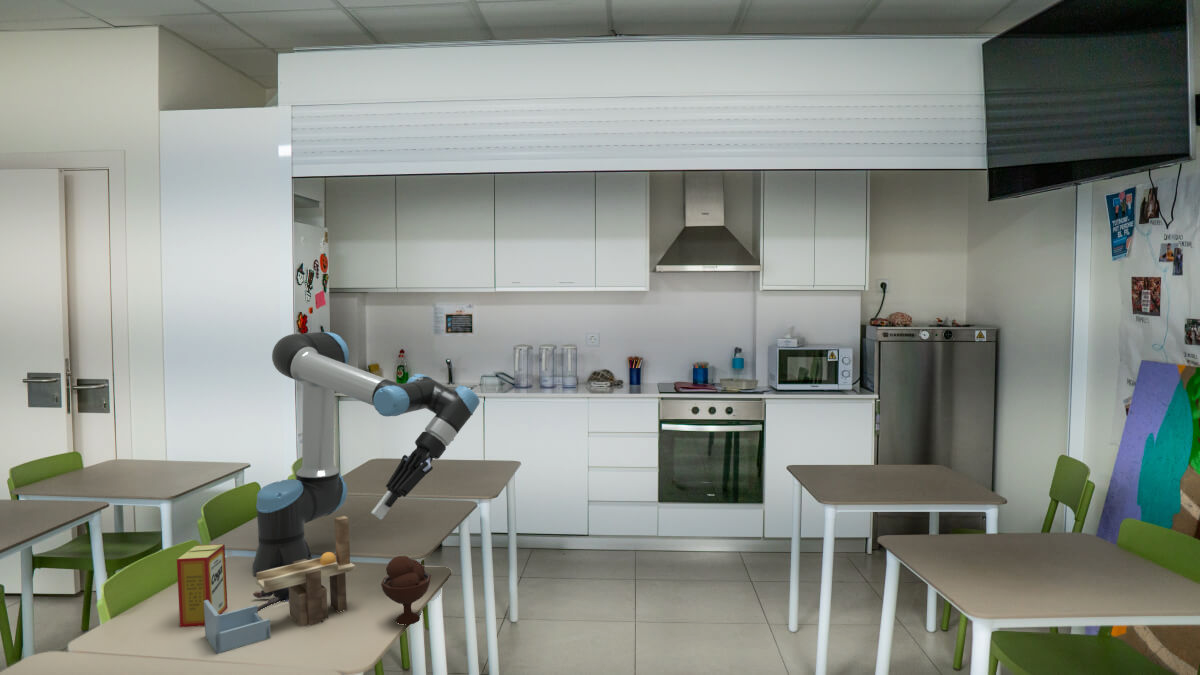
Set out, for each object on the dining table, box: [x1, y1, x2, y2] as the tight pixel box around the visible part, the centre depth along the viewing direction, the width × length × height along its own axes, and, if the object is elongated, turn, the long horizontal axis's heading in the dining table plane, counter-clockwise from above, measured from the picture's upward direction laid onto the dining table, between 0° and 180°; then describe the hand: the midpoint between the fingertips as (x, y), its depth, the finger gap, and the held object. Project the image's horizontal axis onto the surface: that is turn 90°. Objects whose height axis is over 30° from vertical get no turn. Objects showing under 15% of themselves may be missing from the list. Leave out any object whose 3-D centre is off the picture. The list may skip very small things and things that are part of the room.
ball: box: [320, 551, 336, 566], centre depth 170 cm, size 4×4×4 cm
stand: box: [288, 559, 348, 627], centre depth 169 cm, size 11×10×12 cm
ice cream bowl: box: [380, 555, 432, 626], centre depth 165 cm, size 11×11×15 cm
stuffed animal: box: [252, 587, 289, 612], centre depth 179 cm, size 12×10×12 cm
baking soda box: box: [176, 543, 228, 628], centre depth 168 cm, size 10×6×16 cm
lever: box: [255, 515, 356, 593], centre depth 167 cm, size 20×7×12 cm, turn 130°
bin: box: [204, 600, 271, 654], centre depth 158 cm, size 11×11×8 cm
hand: (376, 516), depth 177 cm, fingers closed
